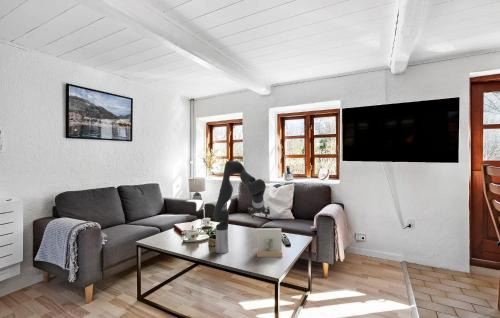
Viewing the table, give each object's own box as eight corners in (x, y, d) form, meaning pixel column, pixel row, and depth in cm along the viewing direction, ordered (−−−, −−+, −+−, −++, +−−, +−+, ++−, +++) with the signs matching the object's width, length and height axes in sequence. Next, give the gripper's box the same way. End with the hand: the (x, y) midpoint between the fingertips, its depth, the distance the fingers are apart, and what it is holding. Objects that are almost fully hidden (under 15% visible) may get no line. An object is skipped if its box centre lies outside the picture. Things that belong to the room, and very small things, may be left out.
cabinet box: (266, 255, 182) (265, 240, 182) (266, 254, 185) (265, 239, 185) (273, 255, 181) (272, 240, 181) (272, 254, 184) (272, 239, 184)
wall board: (256, 256, 180) (256, 231, 180) (257, 252, 188) (257, 228, 188) (282, 257, 178) (281, 231, 178) (281, 252, 186) (281, 228, 186)
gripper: (269, 198, 161) (270, 212, 173) (247, 198, 163) (249, 212, 174) (269, 207, 156) (270, 221, 168) (246, 208, 157) (248, 221, 169)
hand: (259, 216), depth 171 cm, fingers open, 8 cm apart
